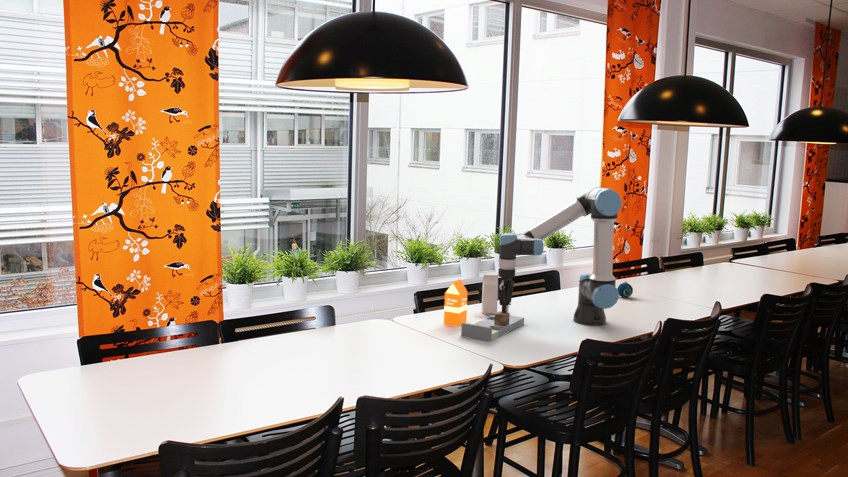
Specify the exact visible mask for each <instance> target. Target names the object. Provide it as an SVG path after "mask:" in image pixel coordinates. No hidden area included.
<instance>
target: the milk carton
mask: <svg viewBox="0 0 848 477" xmlns="http://www.w3.org/2000/svg"><path fill="white" fill-rule="evenodd" d="M498 285H499V276H498V274H483V277H482V288H481V290H482V293H481V294H482V295H481V313H482V314H487V315H488V314H489V315H490V314H492V315H494V314H495V313H497V312H498V300H499V289H498Z"/></svg>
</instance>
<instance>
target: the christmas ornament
mask: <svg viewBox="0 0 848 477" xmlns="http://www.w3.org/2000/svg"><path fill="white" fill-rule="evenodd" d="M616 288H617V290H618V292H619V297H621V298H624V299H628V298H630V297H632V295H633V292H634V289H633V286H632V285H631V284H630V283H628V280H624V281H623V282H622V283H620V284H619V285H618V286H617V287H616Z"/></svg>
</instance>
